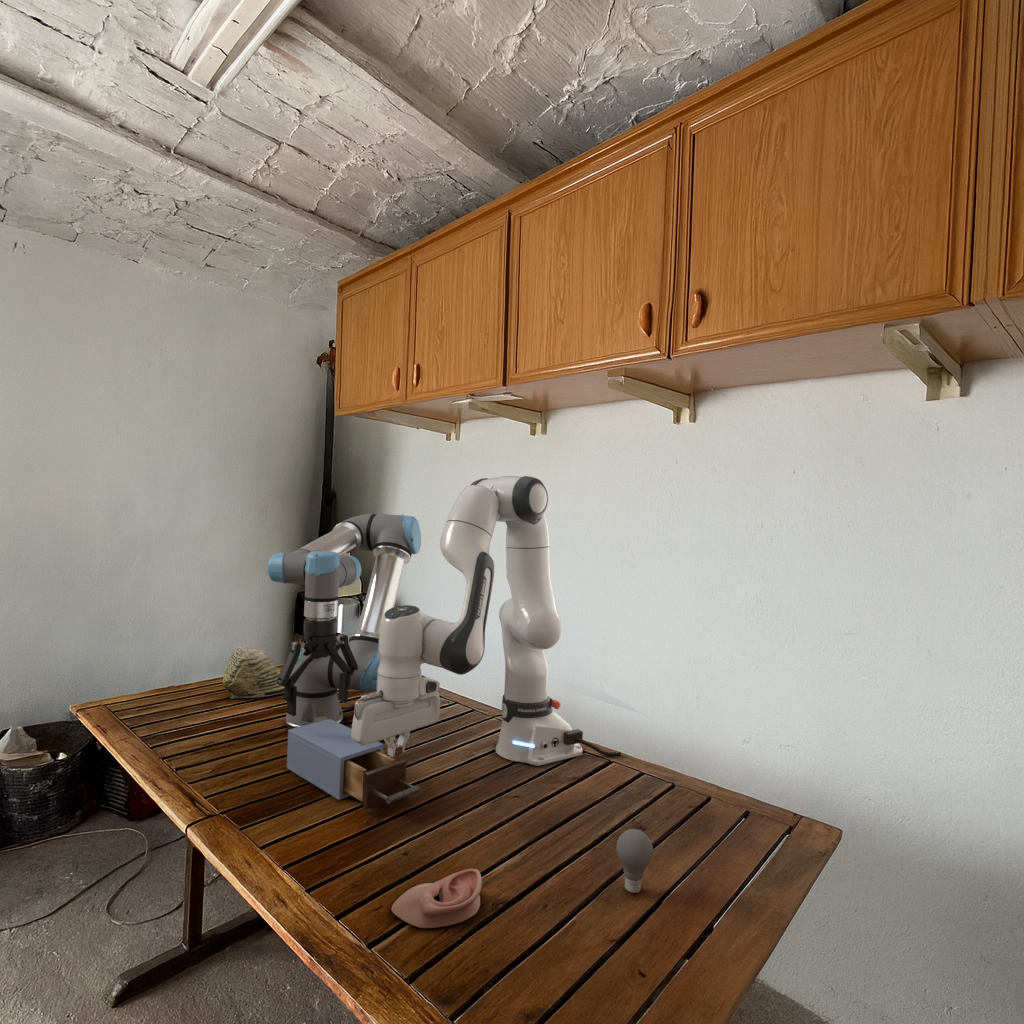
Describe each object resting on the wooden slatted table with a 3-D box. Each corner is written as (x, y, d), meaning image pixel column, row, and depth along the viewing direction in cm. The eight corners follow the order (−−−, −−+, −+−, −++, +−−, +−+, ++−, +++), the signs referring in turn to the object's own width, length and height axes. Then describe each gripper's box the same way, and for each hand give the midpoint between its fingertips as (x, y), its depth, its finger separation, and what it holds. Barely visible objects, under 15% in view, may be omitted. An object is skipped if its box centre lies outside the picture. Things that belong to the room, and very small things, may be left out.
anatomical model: (384, 895, 95) (411, 854, 106) (383, 921, 95) (410, 877, 106) (469, 910, 92) (488, 866, 104) (468, 937, 93) (487, 890, 104)
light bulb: (610, 879, 108) (613, 822, 108) (644, 879, 109) (647, 822, 109) (619, 902, 102) (622, 840, 102) (655, 901, 103) (658, 840, 103)
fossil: (218, 695, 195) (220, 647, 195) (278, 685, 208) (279, 640, 207) (228, 703, 189) (230, 653, 188) (289, 692, 201) (290, 645, 201)
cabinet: (382, 784, 141) (383, 744, 141) (339, 800, 133) (340, 757, 132) (328, 755, 155) (329, 718, 155) (286, 768, 147) (288, 729, 147)
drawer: (423, 803, 131) (424, 769, 131) (384, 820, 123) (386, 784, 123) (350, 764, 148) (351, 734, 148) (312, 777, 141) (313, 745, 140)
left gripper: (279, 627, 136) (276, 725, 137) (374, 614, 155) (371, 699, 156) (262, 621, 141) (259, 715, 142) (356, 609, 160) (353, 692, 161)
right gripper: (365, 701, 119) (362, 774, 119) (445, 681, 134) (443, 745, 135) (346, 693, 123) (343, 763, 123) (426, 674, 138) (423, 737, 139)
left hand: (318, 707), depth 149 cm, fingers open, 13 cm apart
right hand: (396, 754), depth 129 cm, fingers closed
